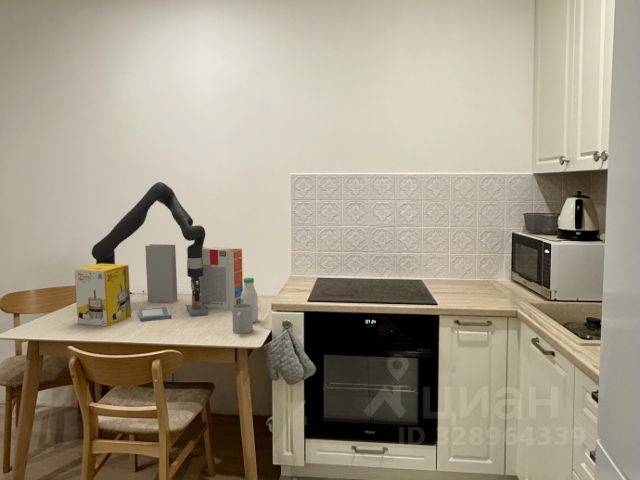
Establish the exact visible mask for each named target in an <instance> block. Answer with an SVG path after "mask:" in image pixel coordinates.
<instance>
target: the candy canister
mask: <svg viewBox="0 0 640 480" xmlns="http://www.w3.org/2000/svg"><path fill="white" fill-rule="evenodd" d="M254 281H255V279H254V278H253V277H244V278H243V285H244V286H243V291H242V293H241V304H251V305H252V323H256V322H258V320H259V310H258V309H259V302H258V301H259V300H258V293H257V291H256V289H255V286H254V283H255V282H254Z"/></svg>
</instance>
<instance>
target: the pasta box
mask: <svg viewBox="0 0 640 480" xmlns="http://www.w3.org/2000/svg"><path fill="white" fill-rule="evenodd" d="M202 260H203V276H201V277H199V280H200V293H199V295H200V296H201V304H203V305H204V307H205V308H206V309H207V308H208V309H219V310H228V311H232V306H233V305H236V304H241V293H242V291H243V288H244V286H243V285H244V278H243V248H241V247H240V248H239V247H238V248H237V247H223V246H222V247H221V246H219V247H217V246H206V245H205V246H204V245H203V247H202ZM197 291H198V289H197Z"/></svg>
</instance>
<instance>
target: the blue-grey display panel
mask: <svg viewBox="0 0 640 480" xmlns="http://www.w3.org/2000/svg"><path fill="white" fill-rule="evenodd" d="M138 317H139V322H140V321H141V322H149V321H158V320H159V321H160V320H169V319H170V320H171V319H172V313H171V310H170V308H169V306H165V307H164V306H163V307H154V308H153V307H152V308H143V309H142V308H141V309H138Z"/></svg>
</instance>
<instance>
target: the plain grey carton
mask: <svg viewBox="0 0 640 480" xmlns="http://www.w3.org/2000/svg"><path fill="white" fill-rule="evenodd" d="M176 253H177V252H176V244H149V245H145V266H146V267H145V269H146V288H147V289H146V290H147V302H151V303H153V302H154V303H155V302H156V303H174V301H176V300H178V282H177V281H178V280H177V279H178V278H177V257H176V256H177V255H176Z"/></svg>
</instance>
